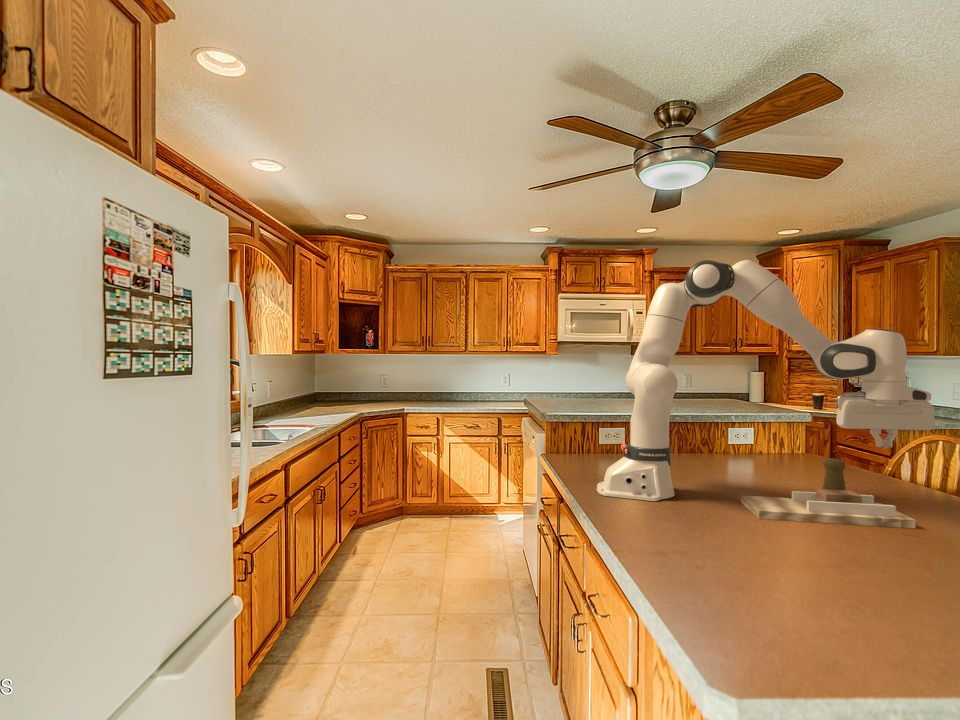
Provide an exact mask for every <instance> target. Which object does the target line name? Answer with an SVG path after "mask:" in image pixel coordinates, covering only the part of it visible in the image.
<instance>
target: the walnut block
mask: <svg viewBox="0 0 960 720" xmlns="http://www.w3.org/2000/svg"><path fill="white" fill-rule="evenodd" d="M816 492H817V501H825V502H843V503H861V504H862V496H861V495H862V494H859V493H857V492H855V491H852V490H827V489H823V488H821V489H820V488H816Z"/></svg>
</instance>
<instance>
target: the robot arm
mask: <svg viewBox="0 0 960 720" xmlns="http://www.w3.org/2000/svg"><path fill="white" fill-rule="evenodd" d="M723 296H729V297H732V298H733V299H735V300H737V301H739V302H740V304H741V305H743V307H745V308H746V309H747V310H748V311H749V312H751V313H752V314H753V315H754V316H756V317H758V318H759V319H761V320H762V321H764V322H766V323H767V324H769V325H770V326H771V325H772V326H773V327H775V328H777V329H779V330H781V331H782V332H784V333H785V334H786V335H788V337H790V338H791V339H792V340H793V341H794V342H795V343H796V344H797V345H798V346H800V348H802V349H803V350H804V351H805V352H806V353H807V354H808V355H809V357H810V358H811V360H812V363H813V365H814V368H815V370H817V372H818V373H819V374H820V375H822V376H823V377H825V378H828V379H830V380H846V379H851V378H854V377H856V378H857V377H861V378H860V379H861V392H858V391H855V392H850V391H846V392H843V393H841V394H839V396H838V397H837V399H836V400H837V402H836V406H837V411H836V419H835V420H836V421H835V422H836V424H837V426H838V427H839V428H843V429H848V430H849V429H854V430H855V429H856V430H859V429H860V430H869V433H870V434H871V436H872V438H873V439H874V440H875V441H874V443H875V447H877V448H893V447H894V445H893V442H894V440H895V439H896V437H897V436H898V434H899V431H900V430H901V431H903V430H904V431H905V430H906V431H932V430H933V428H935V424H936V423H935V422H936V420H935V419H936V418H935V410H934V409H935V408H934V406H933V404H932V403H931V402H930V401H931V399H932V393H931V392H929V391H926V390H922V389H918V388H915V387H911V386H908V384H907V382H908V381H907V377H906V374H905V370H906V367H907V364H908V362H907V361H908V359H907V345H906V340H905V338H904V336H903V334H901V333H900V332H898V331H895V330H893V329H885V328H868V329H865V330H863V331H862V332H860V333H859V334H856V335H854V336H852V337H849V338H848V339H847V338H846V339H845V340H841V341H835V340H834V339H833V340H832V339H831V338H829V337H828V336H827V335H825V333H823V332H822V331H821V330H820V329H819V328H818V327H816V326H815V325H814V324H813V323H812V322H811V321H810V320H808V318H807V317H806V316H805V315H804V313H803V312H802V310H801V307H800V305H799V301H798V298H797V296H796V295H795V293H794V292H793V290H792V289H790V287H789V286H788V285H787V284H786V283H785V282H784V281H783V280H782V279H780V278H779V277H778V276H777V275H775V274H774V273H773V272H771V271H770V270H768V269H767V268H766V267H764V266H762V265H761V264H759V263H757V262H755V261H753V260H751V259H744V260H743V259H742V260H740V261H738V262H736V263H734V264H733V265H731V264H729V263H723V262H719V261H715V260H709V259H706V260H704V259H703V260H701V261H698V262H695V264H693V265H691V266H690V268H689V269H688V270H687V272H686V274H685V279H684V280H683V281H682V282H678V283H676V282H666V283H662V284H661V285H659V286H658V288H657V289H656V291H655V293H654V294H653V297H652V300H651V302H650V304H649V308H648V310H647V314H646V318H645V322H644V326H643V329H642V333H641V336H640V340H639V343H638V346H637V348H636V350H635V353H634V355H633V358H632V360H631V363H630V366H629V369H628V371H627V373H626V375H625V385H626V389H627V390H628V391H629V392H630V393H631V394H632V395H634V403H633V410H632V414H631V417H630V420H629V421H630V423H629V424H630V426H629V427H630V428H629V429H630V433H629V434H630V438H629V440H630V443H629V444H628V445H627V444H626V443H622V444H621V446H620V448H621V451H622V453H623V457H621V458H620V459H619V460H617V461H616V462H614V463H613V464H611V465H610V466H608V467H607V469H606V470H605V474H604V478H603V481H600V482H598V483H597V485H596V491H597V492H598V494H599V495H602V496H604V497H605V496H606V497H612V498H621V499H622V498H623V499H628V500H629V499H631V500H639V501H650V502H659V501H660V500H665V499H669V498H673V497H674V496H675V495H676V493H675V490H674V486H673V482H672V481H673V480H672V476H671V463H672V451H671V447H670V418H671V412H672V408H673V403H674V395H675V394H676V392H677V390H678V385H679V384H678V382H679V381H678V378H677V376H676V374H675V372H673V371H672V369H670V368H669V366H670V364H671V363H672V360H673V358H674V356H675V355H676V353H677V351H678V350H679V348H680V345H681V344H680V343H681V340H682V337H683V332H684V328H685V324H686V320H687V316H688V312H689V311H690V309H691V308H699V307H708V306H711V305H714V304H715V303H718V302H719V300H721V298H723ZM882 430H886V433H887V436H886V438H885V439H883V438H882V437H881V435H880V434H882Z"/></svg>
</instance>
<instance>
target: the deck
mask: <svg viewBox="0 0 960 720" xmlns="http://www.w3.org/2000/svg"><path fill="white" fill-rule="evenodd" d="M740 497H741V499H740V500H741V501H740V502H741V504H742V505H743V506H744V507H746V508H747V509H748V511H750V512H751V513H752V514H753V515H754V516H755V517H757V518H758V520H759V519H760V520H772V521H773V520H774V521H775V520H776V521H791V522H803V521H804V522H807V523H819V522H820V523H821V524H837V525H838V524H839V525H853V526H868V527H869V526H870V527H884V528H900V529H913V528H914V529H915V528H916V522H917V521H916V519H914V518H911V517H910V516H907V515H906V514H903V513H901V512H899V511H897V510H896V517H892V516H875V515H858V514H842V513H825V512H809V511H807V502H797V501H792V497H791V498H790V497H777V496H776V497H774V496H758V495H757V496H754V495H741V496H740ZM874 504H879V505H884V504H883V503H881V502H874ZM914 529H913V530H914ZM915 530H916V529H915Z"/></svg>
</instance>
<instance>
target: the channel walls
mask: <svg viewBox="0 0 960 720" xmlns="http://www.w3.org/2000/svg"><path fill="white" fill-rule="evenodd" d="M860 495H861V496H862V504H861V503H843V502H825V501H817V491H814V492H813V491H799V490H798V491H796V490H792V491H791V498H792V501H797V502H807V511H809V512H825V513H842V514H858V515H875V516H892V517H896V511H897V507H896V505H893V504H883V505H879V504H874V503H875V496H874V495H872V494H860Z"/></svg>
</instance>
